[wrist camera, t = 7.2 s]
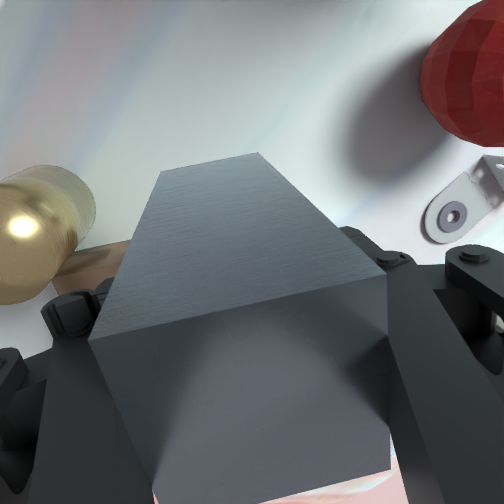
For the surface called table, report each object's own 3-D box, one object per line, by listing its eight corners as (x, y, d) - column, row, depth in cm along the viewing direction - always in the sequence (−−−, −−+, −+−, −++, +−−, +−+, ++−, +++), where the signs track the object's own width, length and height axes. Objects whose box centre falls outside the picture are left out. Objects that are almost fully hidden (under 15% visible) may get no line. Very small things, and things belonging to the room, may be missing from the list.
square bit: (257, 152, 19) (386, 273, 6) (271, 241, 21) (390, 469, 8) (160, 171, 19) (87, 340, 6) (184, 259, 21) (168, 526, 8)
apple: (520, 9, 35) (690, -35, 23) (488, 136, 40) (616, 155, 28) (403, 2, 34) (519, -49, 22) (383, 136, 38) (470, 155, 26)
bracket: (410, 215, 43) (428, 224, 40) (482, 152, 41) (506, 157, 38) (438, 251, 45) (457, 262, 42) (507, 193, 44) (532, 201, 40)
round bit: (79, 157, 35) (26, 186, 24) (106, 235, 38) (71, 291, 27) (-8, 174, 35) (-101, 211, 24) (28, 251, 38) (-40, 315, 27)
